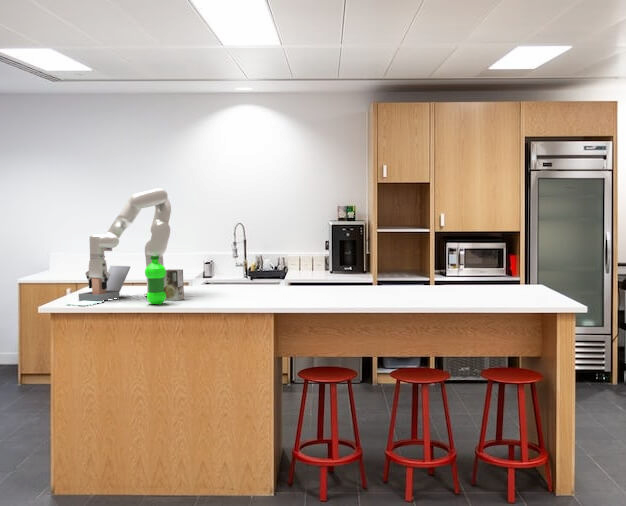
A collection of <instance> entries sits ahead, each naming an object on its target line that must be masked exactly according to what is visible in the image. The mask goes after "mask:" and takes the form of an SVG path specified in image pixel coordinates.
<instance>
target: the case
mask: <svg viewBox="0 0 626 506" xmlns="http://www.w3.org/2000/svg"><path fill="white" fill-rule="evenodd" d="M130 269H131V266H128V265H110V266H109V268H108V269H107V272H108V273H109V274H110V276H109V279H108V281H107V289H106V294H100V295H93V294H92V290H91V291H88V292H81V293H78V301H79V300H80V301H84V300H85V301H103V300H108V299H114V298H119V297H120V294H121V293H120V292H121V290H122V288H123V285H124V283H125V282H126V279H127V276H128V274H129V272H130Z"/></svg>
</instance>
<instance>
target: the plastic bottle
mask: <svg viewBox="0 0 626 506" xmlns="http://www.w3.org/2000/svg"><path fill="white" fill-rule="evenodd" d="M158 259H159V256H151V260H152V263H151V264H150V265H149V266H148V267H147V268H146V267H145V269H144V274H145V277H146V279H147V278H148V294H147V297H146V300H147V302H149V304H151V305H152V304H159V305H162V304H163V303H164V302H165V301H166V300H165V299H166V294H165V292H164V276H165V275H166V270H167V269H166V267H165V266H162V265H161V264H160V263H159V262H158Z"/></svg>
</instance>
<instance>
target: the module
mask: <svg viewBox="0 0 626 506" xmlns="http://www.w3.org/2000/svg"><path fill="white" fill-rule="evenodd" d="M102 282H103V281H102V280H101V278H92V288H91V291H92V294H93V295H100V294H106V289H102Z"/></svg>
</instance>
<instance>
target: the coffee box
mask: <svg viewBox="0 0 626 506" xmlns="http://www.w3.org/2000/svg"><path fill="white" fill-rule="evenodd" d="M184 289H185V288H184V270H183V269H174V268H173V269H166V275H165V276H164V292H165V294H166V299H165V301H181V300H184V299H185V290H184Z"/></svg>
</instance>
